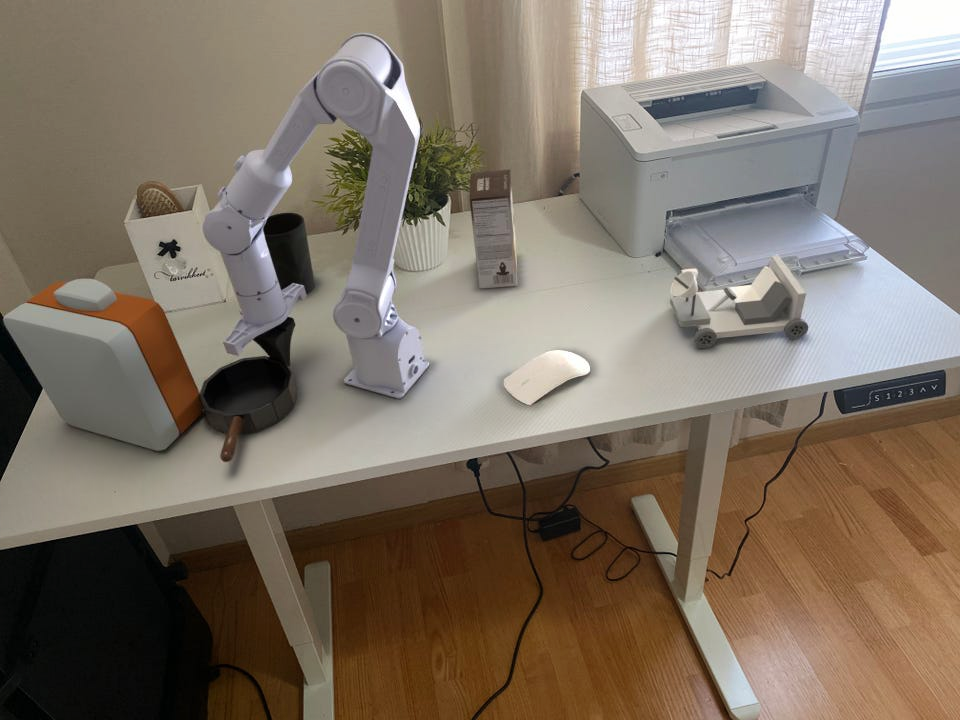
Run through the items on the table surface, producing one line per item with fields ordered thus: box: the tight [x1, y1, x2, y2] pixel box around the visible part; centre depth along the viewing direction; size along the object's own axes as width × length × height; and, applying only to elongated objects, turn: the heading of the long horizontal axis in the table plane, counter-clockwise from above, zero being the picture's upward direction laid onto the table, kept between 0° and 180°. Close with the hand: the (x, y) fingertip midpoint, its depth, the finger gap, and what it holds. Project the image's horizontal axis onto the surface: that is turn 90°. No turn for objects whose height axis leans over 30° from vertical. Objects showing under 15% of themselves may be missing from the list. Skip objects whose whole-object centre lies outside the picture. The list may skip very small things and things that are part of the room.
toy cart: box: [669, 254, 809, 349], centre depth 102 cm, size 18×10×12 cm
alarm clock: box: [2, 278, 204, 452], centre depth 94 cm, size 18×9×21 cm, turn 67°
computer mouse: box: [503, 349, 591, 406], centre depth 98 cm, size 7×12×2 cm, turn 121°
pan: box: [199, 355, 298, 463], centre depth 96 cm, size 19×12×4 cm, turn 3°
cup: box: [263, 212, 316, 295], centre depth 119 cm, size 8×8×12 cm
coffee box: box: [469, 168, 518, 289], centre depth 116 cm, size 9×6×16 cm
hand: (282, 365), depth 104 cm, fingers closed
